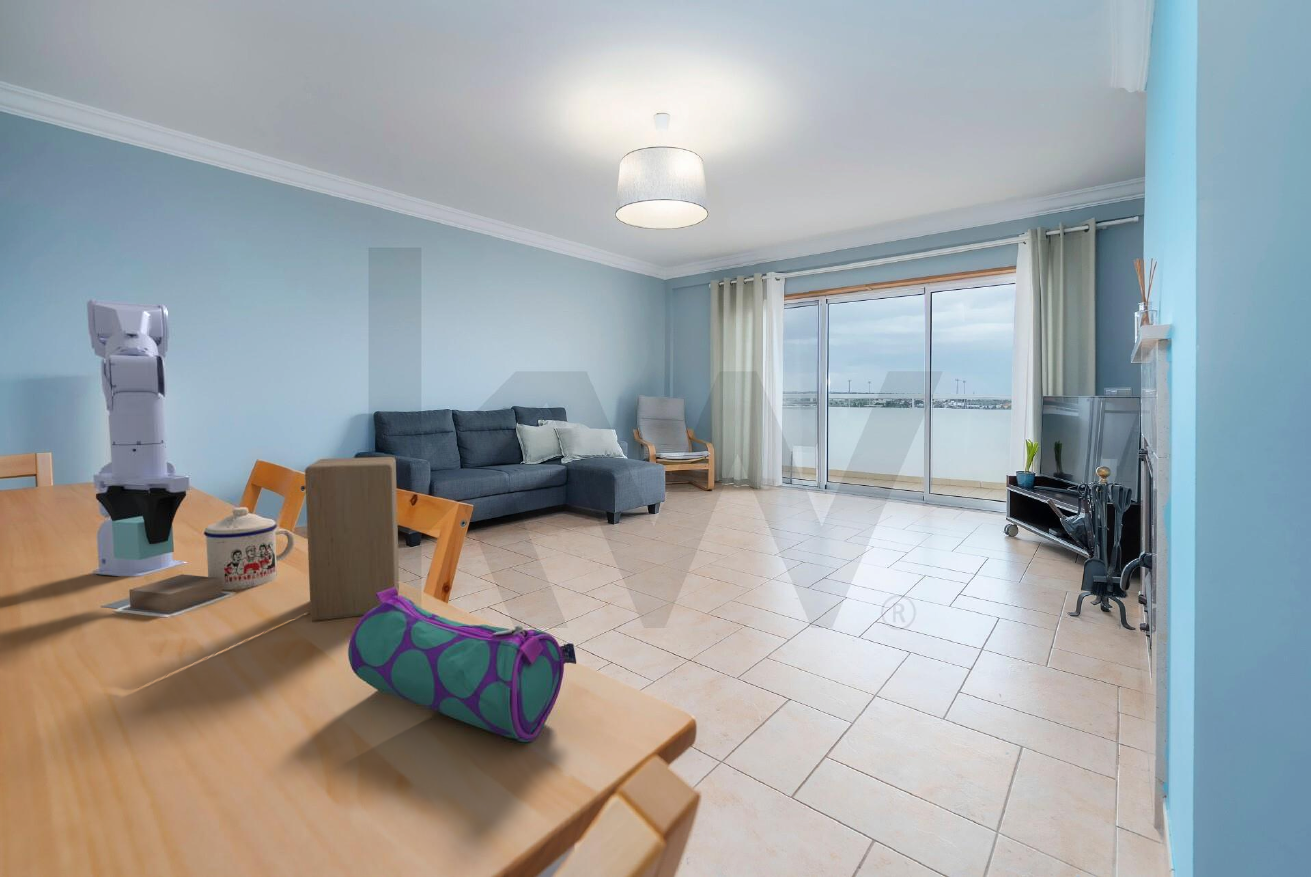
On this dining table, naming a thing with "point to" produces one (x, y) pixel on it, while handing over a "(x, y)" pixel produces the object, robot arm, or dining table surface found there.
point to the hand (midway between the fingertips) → (144, 541)
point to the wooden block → (351, 534)
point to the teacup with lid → (244, 550)
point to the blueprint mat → (125, 607)
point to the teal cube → (136, 540)
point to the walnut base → (175, 593)
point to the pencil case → (460, 666)
